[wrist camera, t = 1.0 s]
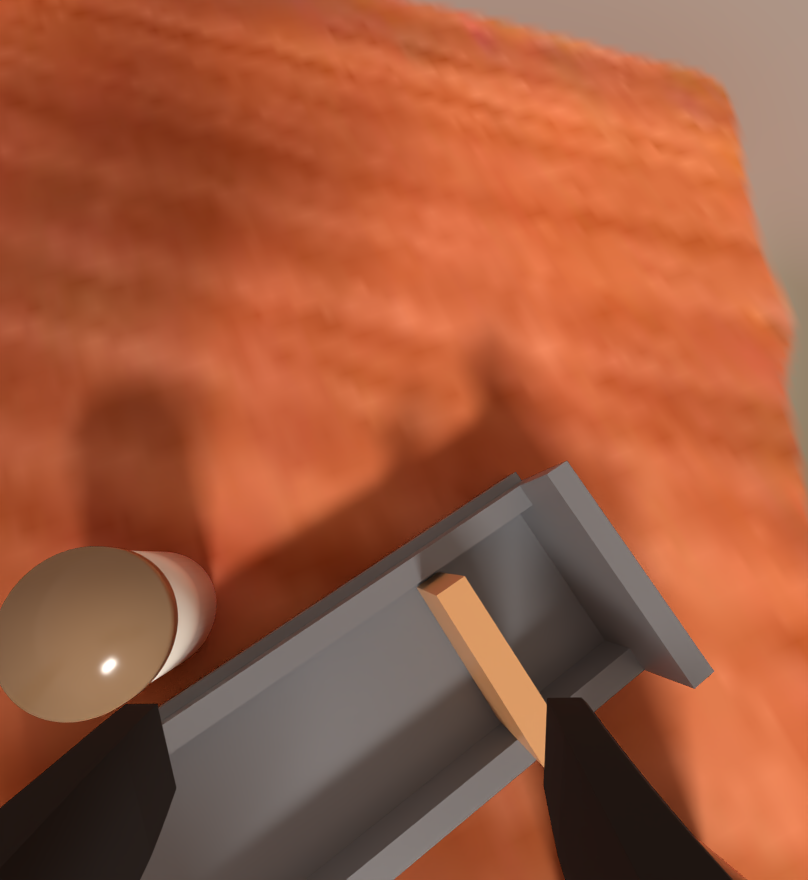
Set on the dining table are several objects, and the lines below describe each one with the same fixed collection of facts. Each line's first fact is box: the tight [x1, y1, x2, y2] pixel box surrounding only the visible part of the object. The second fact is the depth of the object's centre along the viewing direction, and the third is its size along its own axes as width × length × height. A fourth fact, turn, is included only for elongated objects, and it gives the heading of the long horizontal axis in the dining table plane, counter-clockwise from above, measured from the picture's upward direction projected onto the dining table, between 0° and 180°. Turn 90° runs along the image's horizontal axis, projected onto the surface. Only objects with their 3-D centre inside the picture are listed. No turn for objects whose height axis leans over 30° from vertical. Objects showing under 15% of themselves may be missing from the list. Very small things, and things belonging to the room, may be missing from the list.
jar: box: [0, 546, 217, 722], centre depth 18 cm, size 5×5×6 cm
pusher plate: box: [417, 572, 547, 767], centre depth 19 cm, size 1×6×5 cm, turn 32°
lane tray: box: [140, 461, 714, 880], centre depth 18 cm, size 24×10×6 cm, turn 122°
